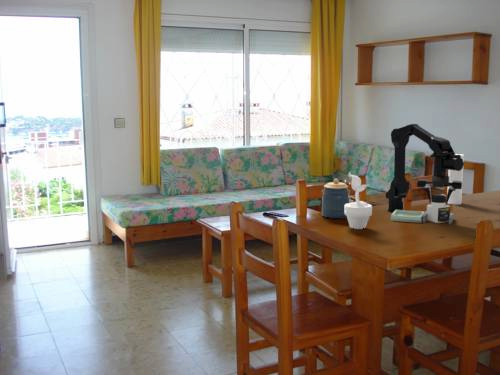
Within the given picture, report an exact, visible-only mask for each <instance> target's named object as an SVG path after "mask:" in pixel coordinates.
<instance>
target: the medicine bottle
mask: <svg viewBox="0 0 500 375" xmlns="http://www.w3.org/2000/svg"><path fill="white" fill-rule="evenodd" d="M446 200H447V195H446V194H443V193H435V194H431V204H427V205H426V211H427V217H426V221H429V222H432V223H435V224H441V223H449V216H450V213H451V206H450V205H449V204H446Z"/></svg>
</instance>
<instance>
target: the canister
mask: <svg viewBox="0 0 500 375" xmlns="http://www.w3.org/2000/svg"><path fill="white" fill-rule="evenodd" d="M323 188H324V189H322V190H321V193H322V197H321V215H322V217H323V216H324V217H323V218H326V217H329V218H328V219H333V218H341V219H347V218H346V217H347V216H346V215H345V214H344V205H345V204H348V203H351V202H350V200H351V198H350V193H351V191H350V190H349V189H348V188H349V185H347V183H346V182H340V180H339V178H334V179H333V182H332V181H331V182H327V183H326V184H324V185H323Z"/></svg>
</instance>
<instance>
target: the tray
mask: <svg viewBox="0 0 500 375" xmlns="http://www.w3.org/2000/svg"><path fill="white" fill-rule="evenodd" d="M424 213H425V211H423V210H422V211H420V210H395V211H394V212H392V213H391V215H390V221H391V222H393V221H395V222H405V223H418V224H420V223H421V224H422V223H423V214H424Z"/></svg>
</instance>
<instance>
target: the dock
mask: <svg viewBox="0 0 500 375" xmlns="http://www.w3.org/2000/svg"><path fill="white" fill-rule="evenodd" d="M426 217H427V210H425V211H424V214H423V220H422V223H426V221H427V220H426ZM453 219H454V212H450V216H449V222H448V225H452V223H453V221H454V220H453Z"/></svg>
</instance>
